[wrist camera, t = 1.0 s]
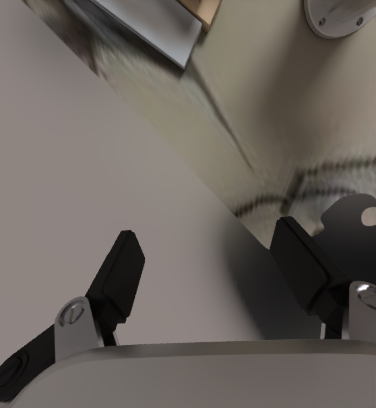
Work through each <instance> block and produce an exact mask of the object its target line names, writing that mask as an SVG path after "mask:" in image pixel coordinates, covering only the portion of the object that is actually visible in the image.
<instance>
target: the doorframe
mask: <svg viewBox="0 0 376 408" xmlns="http://www.w3.org/2000/svg"><path fill="white" fill-rule="evenodd" d="M91 1H92V2H93V3H95V4H96V5H97V6H99V7H100V8H101V9H103V10H104V11H105V12H107V13H108V14H109V15H111V16H112V17H113V18H115V19H116V20H117V21H119V22H120V23H121V24H123V25H124V26H125V27H127V28H128V29H129V30H131V31H132V32H134V33H135V34H136V35H138V36H139V37H140V38H142V39H143V40H144V41H146V42H147V43H148V44H150V45H151V46H152V47H154V48H155V49H156V50H158V51H159V52H160V53H162V54H163V55H164V56H166V57H167V58H168V59H170V60H171V61H172V62H174V63H175V64H176V65H178V66H179V67H181V68H182V69H183V70H185V68H186V65H187V63H188V61H189V58H190V56H191V54H192V51H193V49H194V46H195V44H196V42H197V39H198V37H199V35H200V32H201V29H202V30H203V31H204V32H205V33H208V31H209V29H210V26H211V24H212V22H213V20H214V17H215V15H216V13H217V11H218V8H219V6H220V4H221V1H222V0H201V2H199V1H198V0H91Z"/></svg>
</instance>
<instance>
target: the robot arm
mask: <svg viewBox="0 0 376 408" xmlns="http://www.w3.org/2000/svg"><path fill="white" fill-rule="evenodd" d="M304 10H305V15H306V19H307V22H308V24H309V26H310V28H311V29H312V30H313V32H314V33H315V34H317V35H318V36H320V37H322V38H326V39H336V38H340V37H344V36H346V35H348V34H350V33H353V32H354V31H356V30H358V29H360V28H361V27H363V26H364V25H365V24H366V23H368V22H369V21H370V20H371V19H372V18H373V17H374V16H375V15H376V0H304ZM270 253H271V255H272V256H273V258H274V260H275V262H276V264H277V266H278V267H279V269H280V271H281V273H282V275H283V276H284V278H285V280H286V282H287V283H288V286H289V287H290V289H291V291H292V292H293V295H294V296H295V298H296V300H297V302H298V304H299V305H300V307H301V308H302V309H305V311H306V313H307V315H308V316H311V315H318V316H319V318H320V319H321V321H322V329H321V337H320V339H298V340H260V341H226V342H194V343H167V344H139V345H122V346H120V345H119V342H118V338H117V335H116V333H115V329H116V326H117V324H118V323H125V322H126V318H127V317H129V315H130V313H131V310H132V306H133V302H134V299H135V295H136V292H137V288H138V285H139V281H140V278H141V274H142V270H143V267H144V263H145V257H144V254H143V252H142V250H141V247H140V245H139V242H138V240H137V238H136V235H135V233H134V232H132V231H131V230H125V231H121V232H120V234H119V236H118V238H117V240H116V241H115V243H114V245H113V247H112V249H111V250H110V252H109V254H108V255H107V257H106V258H105V260H104V262H103V264H102V266H101V268H100V269H99V271H98V273H97V275H96V277H95V279H94V280H93V282H92V284H91V286H90V288H89V290H88V292H87V293H86V295H85V297H77V298H74V299H73V300H71V301H70V302H68V303H67V304H66V305H65V306H64V307H63V308H62V309H61V310H60V312H59V313H58V315H57V317H56V319H55V323H54V324H53V325H52V326H50V327H49V328H48V329H46V330H45V331H44V332H42V333H41V334H40V335H38V336H37V337H36V338H34V339H33V340H32V341H30V342H29V343H28V344H26V345H25V346H24V347H22V348H21V349H20V350H18V351H17V352H16V353H14V354H13V355H12V356H10V357H9V358H8V359H7V360H6V361H5V362H4V363H3V364H2V365H1V366H0V408H376V286H375V285H373V284H370V283H367V282H362V281H356V282H352V281H351V280H350V278H349V277H348V276H347V275H346V274H345V273H344V272H343V271H342V270H341V269H340V268H339V266H338V265H337V264H336V263H335V262H334V261H333V260H332V259H331V258H330V257H329V256H328V255H327V254H326V252H325V251H324V250H323V249H322V248H321V247H320V246H319V245H318V244H317V243H316V242H315V241H314V240H313V239H312V237H311V236H310V235H309V234H308V233H307V232H306V231H305V230H304V229H303V228H302V227H301V226H300V224H299V223H298V222H297V221H296V220H295V219H294V218H293V217H291V216H288V217H281V218H280V219H279V220H277V223H276V226H275V230H274V234H273V238H272V242H271V246H270Z"/></svg>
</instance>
